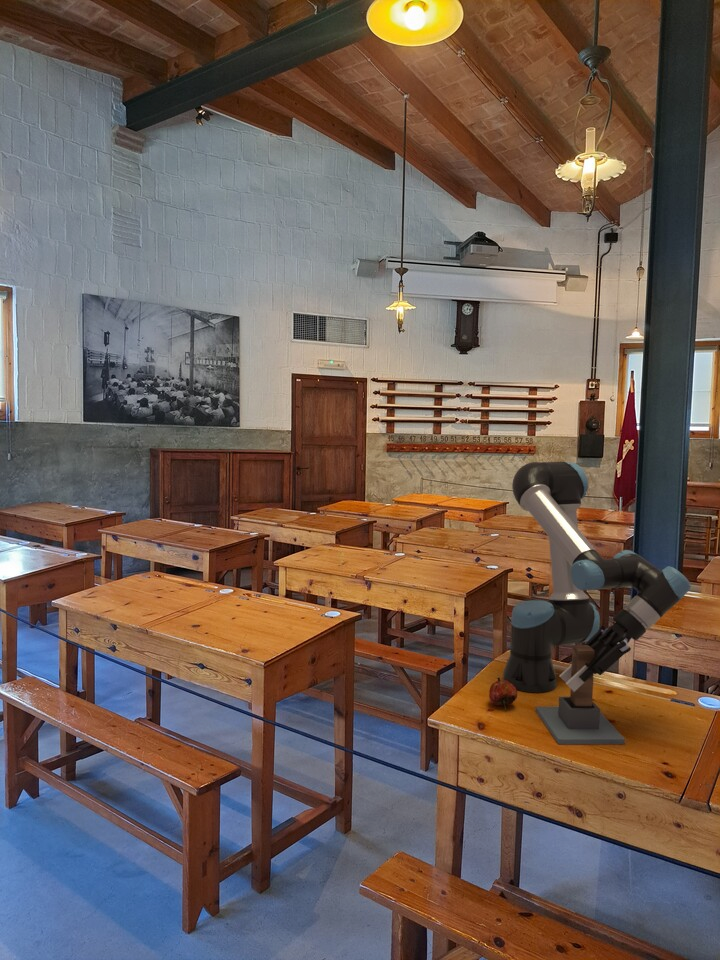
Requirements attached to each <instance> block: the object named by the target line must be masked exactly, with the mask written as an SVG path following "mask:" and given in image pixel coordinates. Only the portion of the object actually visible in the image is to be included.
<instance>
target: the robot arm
mask: <svg viewBox="0 0 720 960" xmlns="http://www.w3.org/2000/svg"><path fill="white" fill-rule="evenodd" d="M511 484H512V485H511V487H512V488H511V489H512V493H513V496H514V499H515V500H516V502H517V504H518V506H520V508H521V509H522V510H523V511H525V512H529V513H530V514H531V516H532V517H533V518H534V520H535V521H536V523H538V525H539V526H540V527H541V529H542V530H543V531H544V532H545V534H546V536H548V544H549V553H550V554H549V555H550V567H551V569H550V570H551V581H552V593H551V595H549V597H548V601H547V600H546V601H545V600H542V599H539V600H534V599H533V600H532V599H531V600H525V601H521V602H519V603H516V604H515V606H513V608H512V611H511V612H512V613H511V619H510V624H511V625H510V645H509V646H510V647H509V648H510V653H509V656H508V658H507V661H506V664H505V667H504V670H503V674H502V680H506V681H508V682H510V683H511V684H513V685H514V687H515V688H516V690H517V691H522V692H526V693H548V692H551V691H554V690H555V689H556V688H557V675H556V671H555V667H554V663H553V659H552V651H553V650H552V649H553V647H557V646H564V645H571V644H573V645H574V644H575V645H580V644H582V643H584V644H583V645H589V646H590V647H591V648H592V649H593V650H594V651H595V653H594V659H593V660H592V661H591V662H590V663H589V664H588V663H586V665H585V666H583V667H582V668H581V669H580V670H579V671H578V672H577V673H576V674H575V675H574V676H573V677H572V678H571V670H572V663H571V664H570V665H569V666H567V668H566V669H565V670H564V671H563V672H561V673H560V675H559V677H560V678H561V680H562V681H563V682H565V684H566V686H568V687H569V689H570V690H571V689H572V690H573V691H574V692H575V691H576V690H577V689H578V688H579V687H580V686H581V685H582V684H583V683H584V682H585V681H586V680H587V679H589V678H590V677H591V676H592V675H593V676H594V675H597V674H598V675H599V676H602V675H603V674H604V673H605V672H606V671H607V670H608V669H609V668H610V667H612V666H613V665H614V664H615V663H616V662H617V661H618V660H619V659H621V658H622V657H623V656H624V655H626V654H628V653H629V652H630V651H631V649H632V648H631V647H630V646H629V643H630V641H631V640H633V641H638V640H639V639H640V638H641V637H642V636H643V635H644V634H645V633H646V631H647V629H651V628H652V626H654V625H655V624H656V623H657V622H658V621H659V620H660V619H661V618H662V617H664V615H665V614H666V613H667V612H668V611H670V609H672V608H673V607H674V606H675V605H676V604H677V603H679V602H680V601H681V600H682V598H684V596H686V594H687V593H688V592H689V591H690V590H691V587H692V585H691V582H690V581H689V579H688V578H687V577H686V576H685V575H684V574H683V573H681V572H680V571H679V570H678V569H676V568H674V567H672V566H669V565H668V566H666V567H665V568H664V569H659V568H658V567H656V566H654V565H653V564H652V563H651V562H650V561H648V560H646V559H645V558H644V557H643V556H642V555H639V554H637V553H635V552H634V551H632V550H631V549H624V550H621V552H617V554H615V555H613V557H612V558H603V556H602V555H601V554H600V553H599V552H598V551H597V549H595V547H594V546H593V544H592V543H590V541H589V540H588V539H587V538H586V536H585V535H584V534H583V533H582V531H581V530H580V529H579V527H578V526H579V524H578V517H577V516H578V515H577V514H578V513H577V512H578V510H579V508H580V507H581V506H582V499H584V498H585V497H586V495H587V492H588V490H589V489H588V488H589V480H588V477H587V474H586V472H585V471H584V468H582V467H581V466H580V465H579V464H577V463H574V462H568V461H551V462H550V461H549V462H547V461H546V462H545V461H541V462H539V461H534V462H528V463H526V464H524V465H522V466H521V467H520V468H519V469H518V470H517V471H516V473H515V475H514V476H513V479H512V483H511ZM630 587H631V588H633V589H635V590H636V591H637V592H638V593H637V594H636V595H634V597H633V598H632V599H631V600H630V601H628V603H626V604H625V605H624V607H625V608H621V609H620V610H619V611H618V612H617V613H616V614H615V615H614V616H613V618H612V620H613V622H614V623H613V624H612V625H610V626H609V627H605V626H604V625H602V626H601V625H600V624H601V617H600V613H599V611H598V610H597V607H596V606H595V604H594V603H592V602H590V597H589V595H588V594H586V593H585V592H584V591H599V590H605V589H607V590H608V589H619V588H630ZM585 642H586V643H585Z"/></svg>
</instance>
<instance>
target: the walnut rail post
mask: <svg viewBox="0 0 720 960" xmlns="http://www.w3.org/2000/svg"><path fill="white" fill-rule="evenodd" d="M571 649H572V652H571V664H572V670H571V678H572V677H573V676H574V675H575V674H576V673H577V672H578V671H579V670H580V669H581V668H582V667H583V666H585V665H586V663H588V664H589V663H590V662H591V661H592V660H593V659H594V653H595V651H594V650H593V649H592V648H591V647H590V646H589V645H584V644H583V645H582V644H581V645H580V644H573V645H572V648H571ZM593 692H594V674H593V675H592V676H591V677H590V678H589V679H587V680H586V681H585V682H584V683H583V684H582V685H581V686H580V687H579V688H578V689H577V690H576V691H575V692H574V691H573V690H572V689H571V688H570V696H569V697H570V700H571V701H572V702H573V703H574V705H575V706H592V701H593V694H594V693H593Z"/></svg>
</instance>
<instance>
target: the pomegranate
mask: <svg viewBox="0 0 720 960" xmlns="http://www.w3.org/2000/svg"><path fill="white" fill-rule="evenodd" d="M496 680H497V681H495V682H493V683H492V684H491V685H490V687H489V691H488V692H489V693H488V695H489V696H488V697H489V701H490V702H491V703H492V704H493V705H494V706H496V707H497V706H504V711H505V712H507V706H508V705H512V704H514V702H515V701H516V700H517V698H518V690H517V689H516V688H515V687H514V685H513V684H511V683H510V682H508V681H506V680H503V679H501V678H500V677H496Z"/></svg>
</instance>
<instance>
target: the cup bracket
mask: <svg viewBox="0 0 720 960" xmlns="http://www.w3.org/2000/svg"><path fill="white" fill-rule="evenodd" d="M535 712H536V714H537V716H538V717H539V719H541V720H540V721H542V723H543V724H544V725H545V727H546V728H547V730H548V731H549V733H550V734H551V735H552V737H553V739H554V740H555V741H556V743H557V745H626V739H625V738H624V736H623V735H622V734H621V733H620V732H619V731H618V730H617V729H616V728H615V726H614V725H613V724H612V723H611V722H610V721H609V720H608V719H607V718H606V717H605V716H604V714H603V713H602V712H601V709H600V708H599V706H597V704H596V703H595V702H594V701H593V700H592V706H575V705H574V703H573V702H572V701H571V700H570V696H558V706H535Z"/></svg>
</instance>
